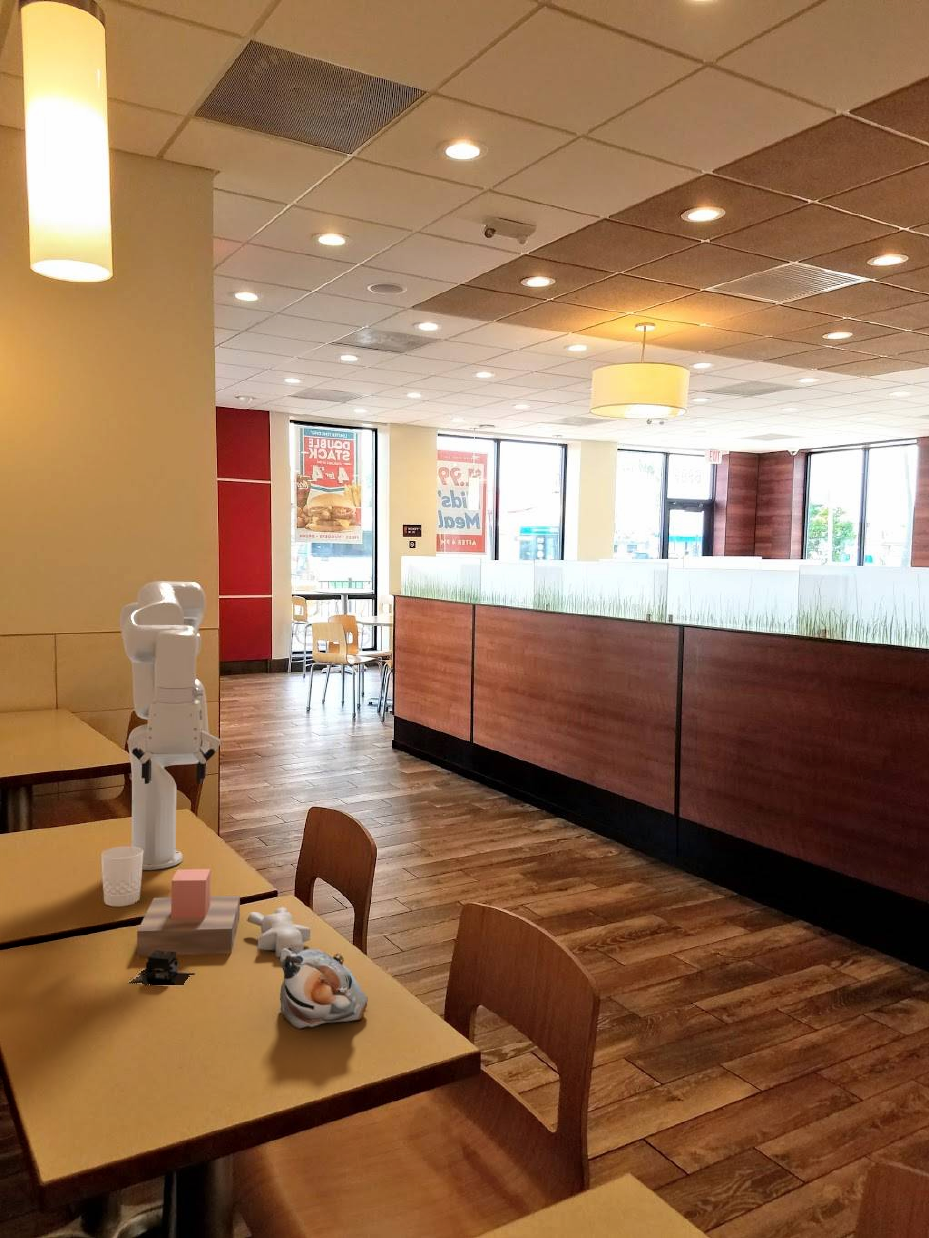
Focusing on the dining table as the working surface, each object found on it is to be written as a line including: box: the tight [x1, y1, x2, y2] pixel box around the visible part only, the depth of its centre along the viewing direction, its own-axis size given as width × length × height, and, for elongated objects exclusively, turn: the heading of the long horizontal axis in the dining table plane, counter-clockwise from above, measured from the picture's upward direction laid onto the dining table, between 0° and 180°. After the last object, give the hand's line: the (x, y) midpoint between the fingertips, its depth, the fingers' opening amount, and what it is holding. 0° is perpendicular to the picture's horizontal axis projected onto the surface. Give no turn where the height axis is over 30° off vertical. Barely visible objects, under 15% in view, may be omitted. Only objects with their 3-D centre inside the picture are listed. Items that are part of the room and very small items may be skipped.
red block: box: [170, 868, 211, 919], centre depth 170 cm, size 6×6×7 cm
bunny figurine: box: [246, 907, 311, 958], centre depth 168 cm, size 10×5×15 cm
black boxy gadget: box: [128, 950, 196, 986], centre depth 153 cm, size 12×7×5 cm, turn 83°
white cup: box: [100, 845, 143, 908], centre depth 186 cm, size 8×8×10 cm
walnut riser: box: [136, 895, 241, 957], centre depth 170 cm, size 16×16×5 cm
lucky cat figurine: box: [279, 947, 369, 1030], centre depth 140 cm, size 15×12×14 cm
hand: (173, 782), depth 179 cm, fingers open, 9 cm apart
